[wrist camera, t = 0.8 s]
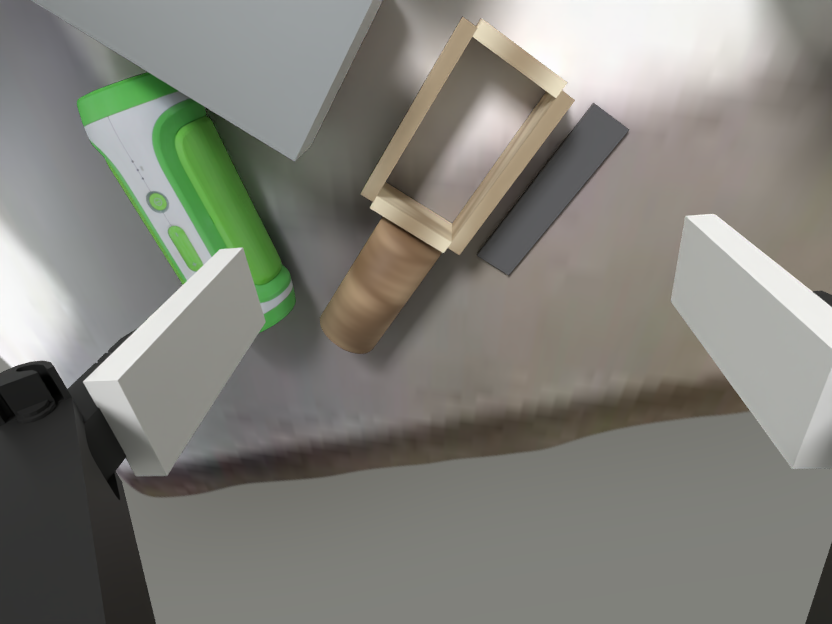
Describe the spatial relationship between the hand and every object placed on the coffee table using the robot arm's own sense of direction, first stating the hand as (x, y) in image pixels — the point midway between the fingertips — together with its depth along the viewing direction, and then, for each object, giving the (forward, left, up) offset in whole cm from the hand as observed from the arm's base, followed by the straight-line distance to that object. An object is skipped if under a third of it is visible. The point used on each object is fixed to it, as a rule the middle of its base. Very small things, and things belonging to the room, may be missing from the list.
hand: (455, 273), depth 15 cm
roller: (+1, -12, -22) cm, 25 cm away
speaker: (-12, -14, -22) cm, 29 cm away
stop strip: (+8, 0, -22) cm, 23 cm away
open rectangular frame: (+1, 0, -22) cm, 22 cm away
